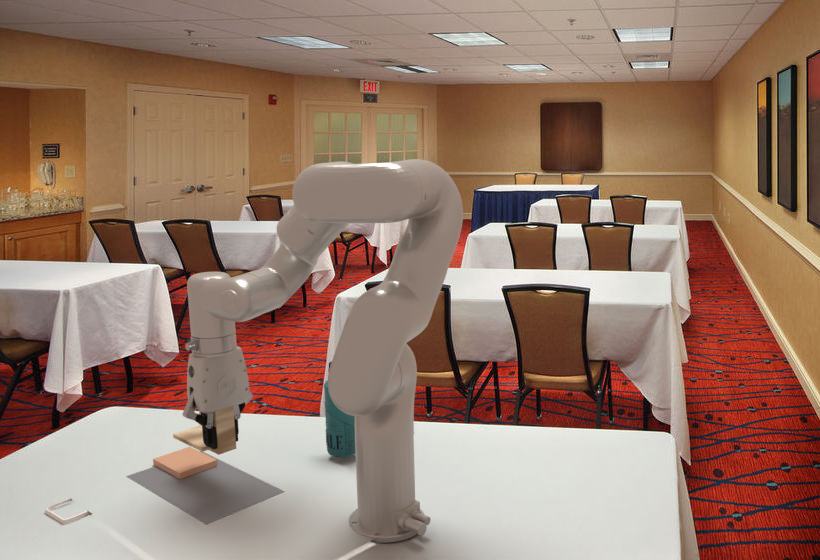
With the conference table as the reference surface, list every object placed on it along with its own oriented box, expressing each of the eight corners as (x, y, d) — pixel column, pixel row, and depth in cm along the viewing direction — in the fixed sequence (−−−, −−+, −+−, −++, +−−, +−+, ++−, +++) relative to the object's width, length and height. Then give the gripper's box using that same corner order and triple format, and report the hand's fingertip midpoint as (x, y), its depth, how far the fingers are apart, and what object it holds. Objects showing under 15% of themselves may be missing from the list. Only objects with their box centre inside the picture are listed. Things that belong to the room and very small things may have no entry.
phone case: (65, 528, 133) (144, 495, 144) (64, 520, 133) (144, 488, 144) (44, 515, 138) (123, 485, 149) (43, 507, 137) (122, 478, 149)
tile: (216, 459, 152) (189, 446, 159) (179, 473, 147) (152, 458, 154) (217, 466, 153) (190, 452, 160) (180, 479, 147) (153, 465, 154)
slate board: (285, 496, 141) (284, 491, 141) (206, 529, 130) (206, 524, 130) (201, 455, 161) (200, 450, 160) (126, 481, 149) (126, 476, 149)
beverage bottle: (361, 451, 160) (358, 356, 157) (356, 465, 154) (352, 366, 150) (330, 451, 161) (325, 356, 157) (323, 465, 154) (318, 366, 151)
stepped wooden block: (242, 446, 141) (239, 404, 140) (212, 456, 137) (209, 413, 136) (201, 428, 151) (198, 388, 149) (173, 437, 146) (169, 396, 145)
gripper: (182, 357, 129) (191, 463, 132) (266, 337, 140) (272, 435, 144) (159, 350, 134) (168, 452, 137) (242, 330, 145) (248, 425, 149)
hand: (221, 442), depth 140 cm, fingers closed on stepped wooden block, 3 cm apart
